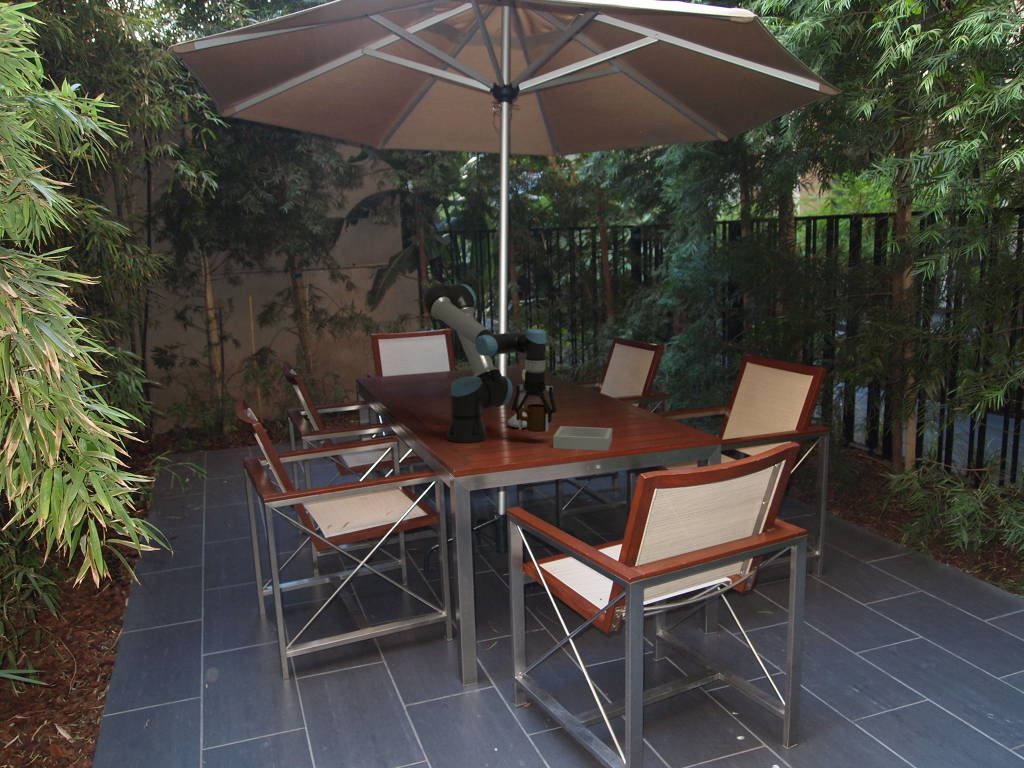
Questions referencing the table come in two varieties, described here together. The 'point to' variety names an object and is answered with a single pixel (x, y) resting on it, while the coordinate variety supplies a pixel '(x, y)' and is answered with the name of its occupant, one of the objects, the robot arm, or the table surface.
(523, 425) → the flower in vase
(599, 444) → the tray
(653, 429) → the table surface
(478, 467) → the table surface
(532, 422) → the mug
